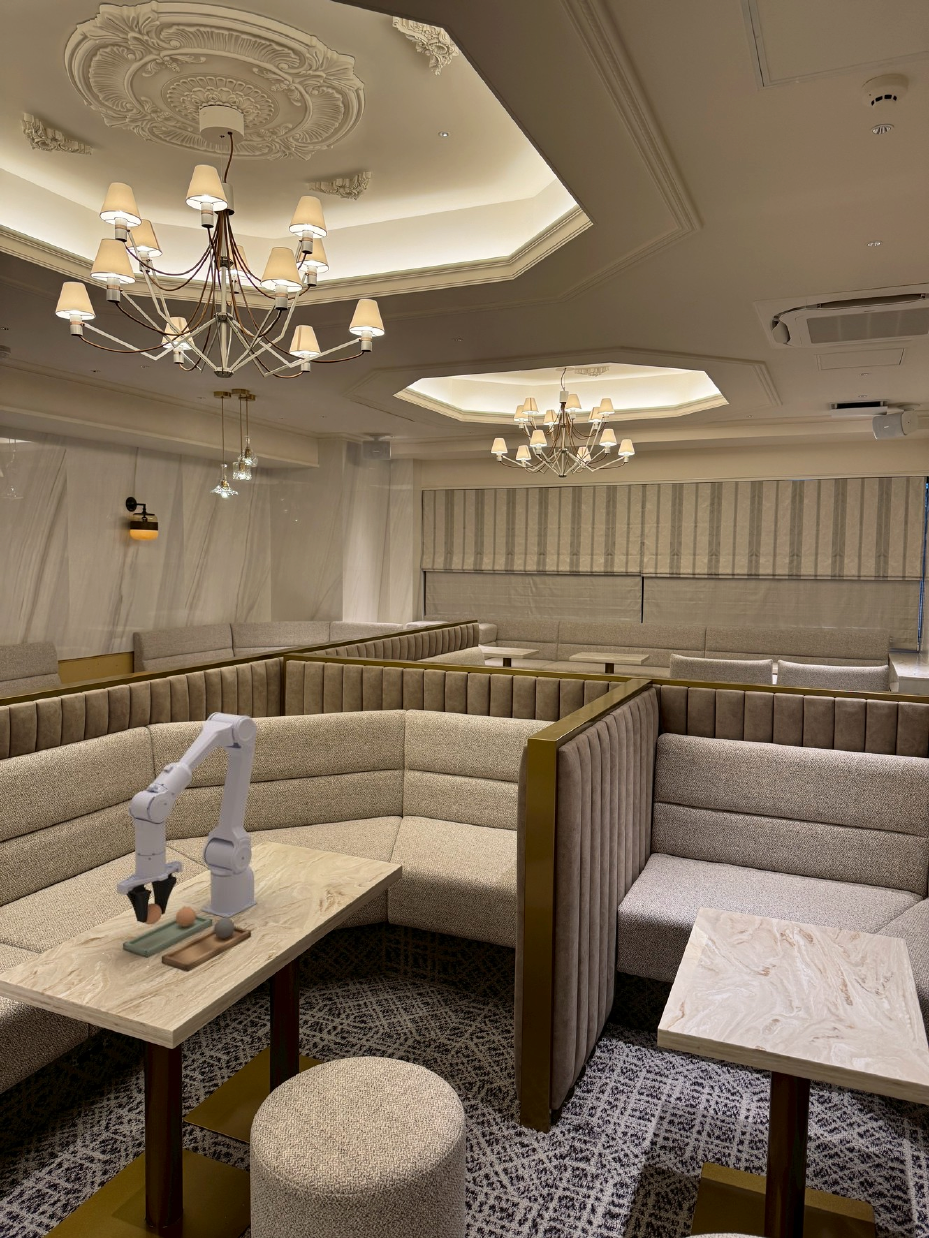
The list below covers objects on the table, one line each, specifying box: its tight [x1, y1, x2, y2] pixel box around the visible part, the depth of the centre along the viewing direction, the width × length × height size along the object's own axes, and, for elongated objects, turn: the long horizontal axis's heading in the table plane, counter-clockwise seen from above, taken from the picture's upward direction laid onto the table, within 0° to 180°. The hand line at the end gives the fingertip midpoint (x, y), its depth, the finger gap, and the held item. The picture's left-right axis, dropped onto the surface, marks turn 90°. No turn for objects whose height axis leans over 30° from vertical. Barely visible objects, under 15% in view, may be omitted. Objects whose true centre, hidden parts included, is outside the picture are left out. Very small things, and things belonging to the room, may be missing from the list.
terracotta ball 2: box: [175, 906, 197, 927], centre depth 171 cm, size 4×4×4 cm
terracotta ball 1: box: [144, 902, 163, 925], centre depth 163 cm, size 4×4×4 cm
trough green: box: [122, 914, 213, 958], centre depth 168 cm, size 17×7×1 cm, turn 152°
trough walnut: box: [161, 925, 252, 972], centre depth 162 cm, size 17×7×1 cm, turn 152°
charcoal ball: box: [213, 917, 235, 939], centre depth 166 cm, size 4×4×4 cm
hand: (151, 917), depth 163 cm, fingers closed on terracotta ball 1, 4 cm apart
